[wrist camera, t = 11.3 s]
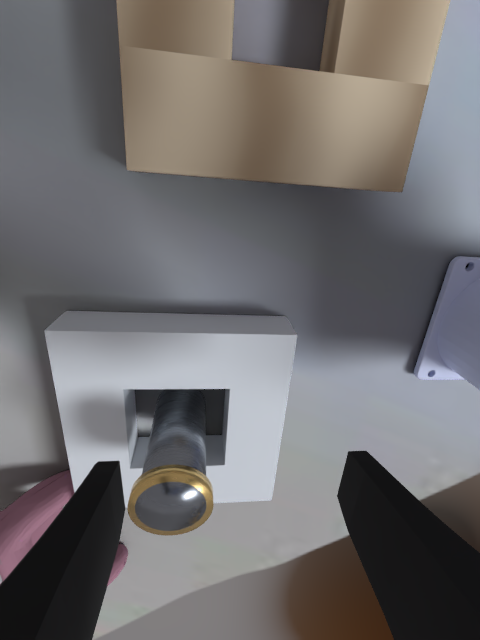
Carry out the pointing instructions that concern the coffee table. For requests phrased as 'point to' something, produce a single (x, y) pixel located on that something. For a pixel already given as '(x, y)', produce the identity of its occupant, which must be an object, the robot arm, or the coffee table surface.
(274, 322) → the dock
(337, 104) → the pin mount
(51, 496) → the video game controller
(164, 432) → the lock pin
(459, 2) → the coffee table surface
